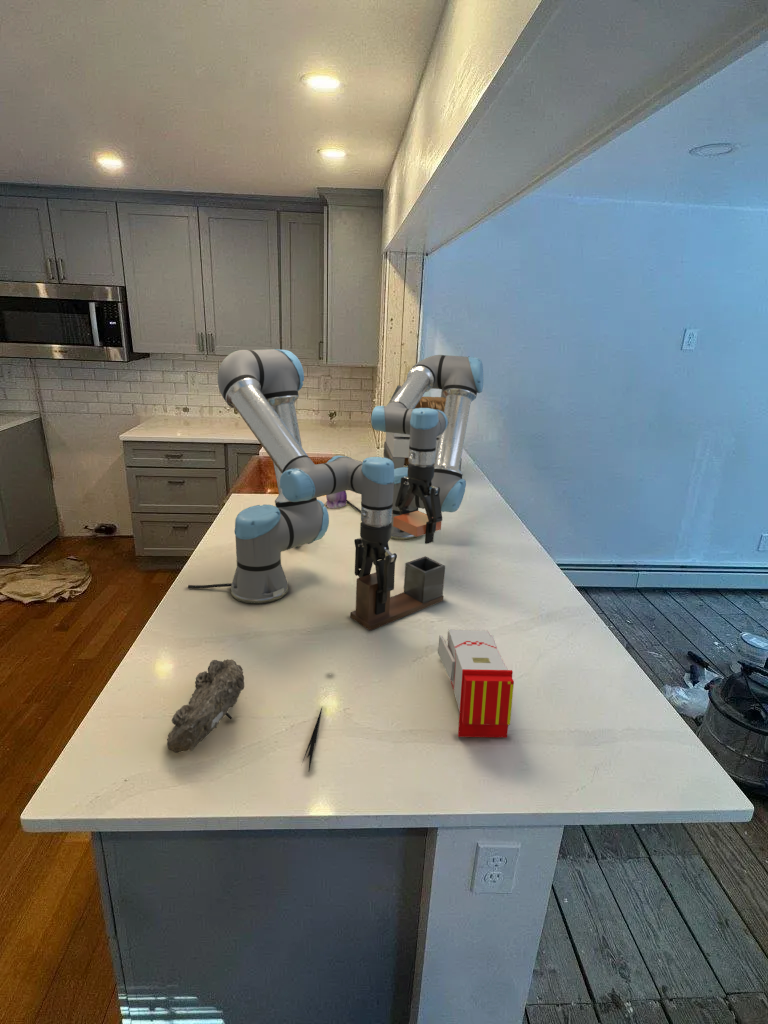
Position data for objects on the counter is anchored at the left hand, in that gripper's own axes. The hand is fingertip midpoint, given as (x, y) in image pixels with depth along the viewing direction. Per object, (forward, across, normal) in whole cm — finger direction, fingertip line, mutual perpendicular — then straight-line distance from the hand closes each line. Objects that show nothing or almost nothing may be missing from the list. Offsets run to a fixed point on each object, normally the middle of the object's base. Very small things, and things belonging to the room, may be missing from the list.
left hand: (372, 607), depth 143 cm
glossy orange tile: (-10, -14, +28) cm, 33 cm away
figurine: (+3, -76, +44) cm, 88 cm away
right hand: (-8, -14, +28) cm, 32 cm away
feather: (+3, +23, -32) cm, 39 cm away
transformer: (+3, -92, +106) cm, 140 cm away
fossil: (+3, +10, -48) cm, 49 cm away
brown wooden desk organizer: (+3, 0, +9) cm, 10 cm away
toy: (+3, +35, -2) cm, 35 cm away
